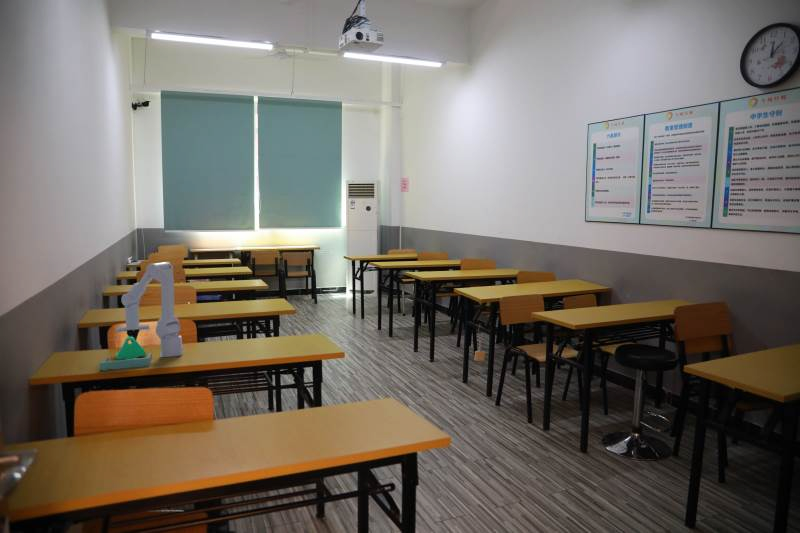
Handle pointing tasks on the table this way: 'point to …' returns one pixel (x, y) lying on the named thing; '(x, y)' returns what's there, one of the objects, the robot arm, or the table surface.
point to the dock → (125, 363)
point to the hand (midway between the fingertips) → (134, 345)
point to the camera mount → (130, 350)
